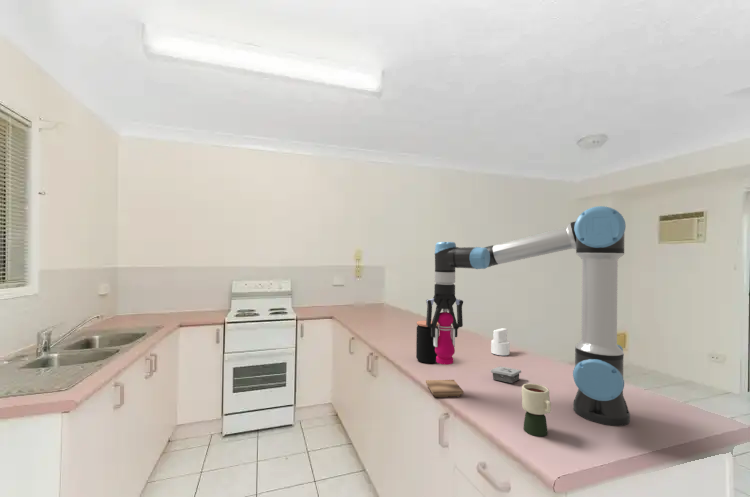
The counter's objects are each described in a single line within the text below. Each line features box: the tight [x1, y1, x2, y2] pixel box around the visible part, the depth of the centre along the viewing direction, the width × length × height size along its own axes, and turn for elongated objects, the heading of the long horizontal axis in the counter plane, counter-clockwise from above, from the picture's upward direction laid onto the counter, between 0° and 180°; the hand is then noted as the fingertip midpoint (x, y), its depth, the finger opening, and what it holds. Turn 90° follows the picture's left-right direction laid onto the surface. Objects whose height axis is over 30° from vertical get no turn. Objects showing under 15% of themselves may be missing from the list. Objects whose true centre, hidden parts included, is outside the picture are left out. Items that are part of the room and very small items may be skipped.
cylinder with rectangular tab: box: [490, 327, 511, 356], centre depth 178 cm, size 9×9×12 cm
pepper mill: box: [435, 308, 456, 366], centre depth 127 cm, size 7×7×20 cm
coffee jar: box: [415, 320, 439, 364], centre depth 165 cm, size 11×11×18 cm
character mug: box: [521, 383, 552, 437], centre depth 98 cm, size 11×7×13 cm, turn 17°
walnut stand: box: [425, 379, 465, 398], centre depth 126 cm, size 11×11×2 cm
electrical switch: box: [490, 365, 522, 384], centre depth 140 cm, size 9×5×9 cm
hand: (444, 345), depth 127 cm, fingers closed on pepper mill, 6 cm apart
